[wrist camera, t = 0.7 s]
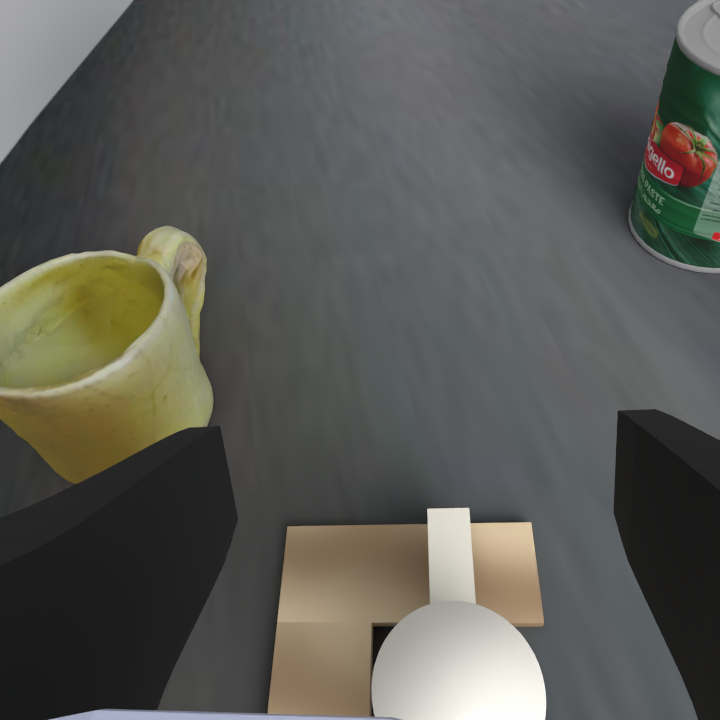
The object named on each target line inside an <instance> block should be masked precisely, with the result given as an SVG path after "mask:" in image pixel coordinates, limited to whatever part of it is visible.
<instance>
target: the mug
mask: <svg viewBox="0 0 720 720" xmlns="http://www.w3.org/2000/svg"><path fill="white" fill-rule="evenodd" d="M206 263H207V258H206V256H205V253H204V251H203V250H202V248H201V246H200V245H199V243H198V242H197V241H196V240H195V239H194V238H193V237H192V236H191V235H190V234H188V233H186V232H183V231H181V230H179V229H177V228H174V227H171V226H164V227H161V228H157V229H155V230H154V231H152V232H150V233H148V234H147V235H146V236H145V237H144V238H143V240H142V241H141V242H140V244H139V247H138V250H137V255H136V256H134V255H130V254H125V253H120V252H116V251H113V250H105V251H96V252H83V253H79V254H68V255H65V256H62V257H59V258H56V259H52V260H50V261H47V262H45V263H43V264H41V265H38V266H36V267H34V268H32V269H30V270H28V271H26V272H24V273H22V274H21V275H19V276H18V277H16V278H14V279H13V280H11V281H9V282H8V283H6V284H5V285H3V286H1V287H0V419H1V420H2V421H3V422H4V423H5V424H6V425H8V426H9V427H10V428H11V429H13V430H14V431H15V432H16V434H17V435H18V436H20V437H22V438H23V439H25V440H26V441H27V442H28V443H29V444H30V445H31V446H32V447H33V448H34V449H35V450H36V451H37V452H38V453H39V454H40V455H41V456H42V458H43V459H44V460H45V461H46V462H47V463H48V464H49V465H50V466H51V467H52V469H53V470H54V471H55V472H56V473H58V474H59V475H60V476H61V477H62V478H64V479H66V480H67V481H69V482H71V483H74V484H78V483H80V482H82V481H84V480H86V479H88V478H90V477H92V476H94V475H96V474H98V473H100V472H102V471H104V470H105V469H107V468H109V467H111V466H113V465H115V464H117V463H118V462H120V461H122V460H124V459H126V458H128V457H130V456H131V455H133V454H135V453H137V452H139V451H141V450H143V449H144V448H146V447H148V446H150V445H152V444H154V443H156V442H158V441H160V440H161V439H163V438H165V437H167V436H170V435H172V434H174V433H176V432H178V431H181V430H184V429H186V428H189V427H207V426H208V423H209V420H210V418H211V414H212V410H213V402H214V400H213V392H212V387H211V384H210V381H209V379H208V377H207V375H206V373H205V370H204V368H203V366H202V364H201V363H200V359H199V355H200V341H199V333H200V311H201V308H202V306H203V302H204V293H205V274H206V272H207V270H206Z"/></svg>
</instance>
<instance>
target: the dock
mask: <svg viewBox="0 0 720 720" xmlns="http://www.w3.org/2000/svg"><path fill="white" fill-rule="evenodd" d="M470 527H471V541H472V555H473V570H474V584H475V598H476V604H477V605H480V606H483V607H485V608H487V609H490V610H492V611H494V612H495V613H497V614H498V615H500V616H502V617H503V618H504V619H506V620H507V621H508V622H509V623H510V624H512V625H513V626H514V627H543V625H544V618H543V610H542V602H541V595H540V587H539V579H538V571H537V564H536V556H535V548H534V540H533V533H532V525H531V522H520V523H470ZM429 604H430V588H429V552H428V524H399V525H338V526H288V527H287V536H286V545H285V555H284V564H283V573H282V583H281V592H280V601H279V610H278V620H277V629H276V638H275V648H274V657H273V666H272V676H271V685H270V694H269V703H268V713H267V714H299V715H333V716H367V717H371V705H372V690H371V686H372V661H373V626H396V625H397V624H398V623H399V622H400V621H401V620H402V619H403V618H404V617H406V616H407V615H409V614H410V613H412V612H413V611H415V610H417V609H419V608H421V607H423V606H426V605H429Z"/></svg>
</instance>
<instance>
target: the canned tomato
mask: <svg viewBox="0 0 720 720" xmlns="http://www.w3.org/2000/svg"><path fill="white" fill-rule="evenodd" d="M628 223H629V226H630V230H631V232H632V234H633V236H634V237H635V239H636V241H637V242H638V243H639V244H640V245H641V246H642V247H643V248H644V249H645V250H646V251H648V252H649V253H650V254H652V255H653V256H654V257H656V258H658V259H660V260H662V261H664V262H666V263H667V264H670V265H673V266H676V267H679V268H681V269H686V270H690V271H695V272H703V273H720V0H700V1H698V2H696V3H695V4H693V5H692V6H691V7H689V8H688V9H687V10H686V11H685V12H684V13H683V14H682V16H681V17H680V19H679V21H678V24H677V27H676V36H675V40H674V44H673V48H672V51H671V55H670V58H669V61H668V64H667V71H666V74H665V77H664V80H663V86H662V90H661V92H660V95H659V101H658V105H657V107H656V110H655V117H654V120H653V122H652V128H651V132H650V135H649V137H648V144H647V147H646V149H645V155H644V158H643V161H642V167H641V170H640V173H639V178H638V182H637V185H636V188H635V193H634V198H633V201H632V204H631V206H630V209H629V216H628Z"/></svg>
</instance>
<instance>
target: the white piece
mask: <svg viewBox="0 0 720 720" xmlns="http://www.w3.org/2000/svg"><path fill="white" fill-rule="evenodd" d="M427 517H428V552H429V588H430V604H429V605H426V606H423V607H421V608H419V609H417V610H415V611H413V612H412V613H410V614H409V615H407V616H406V617H404V618H403V619H402V620H401V621H400V622H399V623H398V624H397V625H396V626H395V627H394V628H393V629H392V631H391V632H390V633H389V635H388V636H387V638H386V639H385V641H384V642H383V644H382V646H381V649H380V651H379V653H378V656H377V659H376V662H375V665H374V670H373V675H372V686H371V690H372V704H373V711H374V715H375V717H394V718H398V719H402V720H545V714H546V692H545V686H544V680H543V676H542V673H541V669H540V666H539V664H538V662H537V659H536V657H535V655H534V653H533V651H532V649H531V648H530V646H529V644H528V643H527V642H526V640H525V639H524V638H523V636H522V635H521V634H520V633H519V631H518V630H517V629H516V628H515V627H514V626H513V625H512V624H510V623H509V622H508V621H507V620H506V619H504V618H503V617H502V616H500V615H498V614H497V613H495V612H494V611H492V610H490V609H487V608H485V607H483V606H480V605H477V604H476V598H475V584H474V570H473V555H472V541H471V527H470V512H469V508H438V509H427Z"/></svg>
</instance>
